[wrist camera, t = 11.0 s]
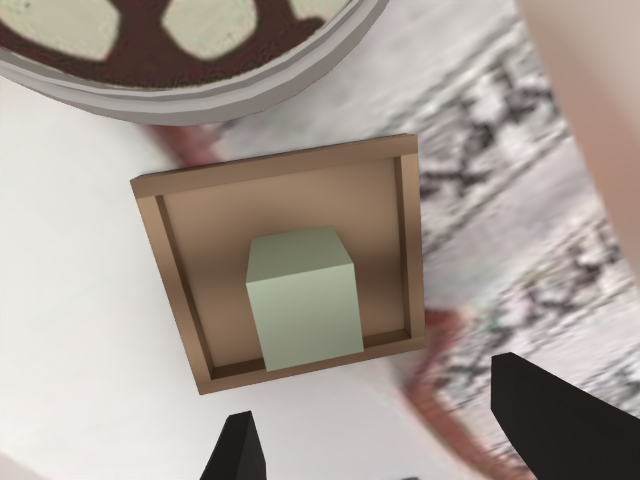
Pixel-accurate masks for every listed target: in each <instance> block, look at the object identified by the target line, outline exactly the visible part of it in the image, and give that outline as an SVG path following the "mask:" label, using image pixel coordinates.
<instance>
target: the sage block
mask: <svg viewBox="0 0 640 480" xmlns="http://www.w3.org/2000/svg"><path fill="white" fill-rule="evenodd" d="M246 286H247V291H248V295H249V299H250V303H251V307H252V311H253V316H254V320H255V324H256V328H257V332H258V337H259V341H260V345H261V349H262V353H263V357H264V362H265V366H266V370H267V372H268V371H273V370H278V369H283V368H288V367H292V366H297V365H302V364H307V363H311V362H316V361H321V360H326V359H330V358H335V357H340V356H345V355H349V354H354V353H359V352H364V348H363V340H362V332H361V323H360V315H359V306H358V298H357V289H356V281H355V272H354V264H353V262H352V260H351V258H350V256H349V255H348V253H347V251H346V249H345V248H344V246H343V244H342V243H341V241H340V239H339V237H338V236H337V234H336V232H335V231H334V229H333V227H332V225H325V226H319V227H314V228H308V229H303V230H297V231H291V232H286V233H280V234H275V235H269V236H263V237H258V238H252V240H251V247H250V255H249V263H248V270H247V278H246Z"/></svg>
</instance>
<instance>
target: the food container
mask: <svg viewBox="0 0 640 480" xmlns="http://www.w3.org/2000/svg"><path fill="white" fill-rule="evenodd" d="M388 2H389V0H0V75H1V76H3V77H5V78H7V79H9V80H11V81H13V82H16V83H18V84H20V85H22V86H25V87H27V88H29V89H31V90H33V91H36V92H38V93H40V94H42V95H44V96H47V97H49V98H52V99H54V100H57V101H60V102H63V103H65V104H68V105H71V106H74V107H76V108H79V109H82V110H84V111H87V112H90V113H93V114H96V115H101V116H106V117H110V118H115V119H120V120H124V121H129V122H134V123H138V124H153V125H169V126H189V125H199V124H209V123H219V122H225V121H228V120H232V119H236V118H239V117H243V116H247V115H250V114H254V113H258V112H261V111H263V110H265V109H267V108H269V107H271V106H274V105H276V104H278V103H280V102H282V101H284V100H287V99H289V98H291V97H293V96H295V95H297V94H298V93H300V92H301V91H302V90H304V89H305V88H307V87H308V86H310V85H311V84H313V83H314V82H316V81H317V80H318V79H320V78H321V77H323V76H324V75H326V74H327V73H328V72H329V71H330V70H332V69H333V68H334V67H335V66H336V65H337V64H338V63H339V62H340V61H341V60H342V59H343V58H344V57H345V56H346V55H347V54H348V53H349V52H350V51H351V50H352V49H353V48H354V47H355V46H356V45H357V44H358V43H359V42H360V41H361V39H362V38H363V37H364V35H365V34H366V33H367V31H368V30H369V29H370V27H371V26H372V25H373V23H374V22H375V21H376V19H377V18H378V17H379V16H380V14H381V13H382V12H383V10H384V9H385V7H386V5H387V3H388Z"/></svg>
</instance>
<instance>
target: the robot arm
mask: <svg viewBox="0 0 640 480" xmlns="http://www.w3.org/2000/svg"><path fill="white" fill-rule="evenodd" d="M491 411H492V412H493V414H494V416H495V418H496V419H497V421H498V423H499V425H500V426H501V428H502V430H503V431H504V433H505V435H506V436H507V438H508V439H509V441H510V443H511V444H512V446H513V447H514V448H515V450H516V451H517V452H518V454H519V455H520V456H521V458H522V459H523V460H524V462H525V463H526V464H527V466H528V467H529V468H530V470H531V471H532V472H533V474H534V475H535V476H536V478H537V479H538V480H640V419H639V418H637V417H634V416H632V415H630V414H628V413H626V412H624V411H622V410H620V409H618V408H616V407H614V406H612V405H610V404H608V403H606V402H604V401H602V400H600V399H598V398H596V397H594V396H592V395H590V394H588V393H586V392H585V391H583V390H581V389H579V388H577V387H575V386H573V385H571V384H570V383H568V382H566V381H564V380H562V379H560V378H558V377H557V376H555V375H553V374H551V373H549V372H547V371H546V370H544V369H542V368H540V367H538V366H537V365H535V364H533V363H531V362H529V361H527V360H525V359H524V358H522V357H520V356H518V355H516V354H514V353H512V352H509V353H504V354H500V355H495V356H492V364H491ZM200 480H267V479H266V462H265V458H264V455H263V451H262V448H261V444H260V441H259V437H258V434H257V430H256V427H255V423H254V420H253V416H252V412H251V411H247V412H242V413H238V414H233V415H229V417H228V418H227V419H226V422H225V424H224V427H223V429H222V431H221V434H220V436H219V439H218V441H217V443H216V446H215V448H214V450H213V452H212V454H211V457H210V459H209V461H208V463H207V465H206V468H205V470H204V472H203V474H202V476H201V478H200Z"/></svg>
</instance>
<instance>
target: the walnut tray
mask: <svg viewBox="0 0 640 480" xmlns="http://www.w3.org/2000/svg"><path fill="white" fill-rule="evenodd" d="M130 183H131V186H132V189H133V193H134V196H135V199H136V202H137V205H138V208H139V211H140V214H141V217H142V220H143V223H144V226H145V229H146V232H147V235H148V238H149V241H150V244H151V248H152V251H153V254H154V257H155V260H156V263H157V266H158V269H159V272H160V275H161V278H162V281H163V284H164V287H165V290H166V293H167V296H168V299H169V303H170V306H171V309H172V312H173V315H174V318H175V321H176V324H177V327H178V330H179V333H180V336H181V339H182V342H183V345H184V348H185V351H186V355H187V358H188V361H189V364H190V367H191V370H192V373H193V376H194V379H195V382H196V385H197V388H198V391H199V394H200V395H204V394H208V393H213V392H218V391H223V390H227V389H232V388H237V387H242V386H246V385H251V384H256V383H261V382H265V381H270V380H275V379H280V378H284V377H289V376H294V375H299V374H303V373H308V372H313V371H318V370H323V369H327V368H332V367H337V366H342V365H346V364H351V363H356V362H361V361H365V360H370V359H375V358H380V357H384V356H389V355H394V354H399V353H403V352H408V351H413V350H418V349H422V348H426V335H425V311H424V287H423V263H422V240H421V216H420V192H419V168H418V144H417V135H413V134H399V135H392V136H386V137H379V138H373V139H367V140H360V141H354V142H348V143H341V144H335V145H329V146H322V147H316V148H310V149H303V150H297V151H291V152H284V153H278V154H272V155H265V156H259V157H252V158H246V159H240V160H233V161H227V162H221V163H214V164H208V165H202V166H195V167H189V168H183V169H176V170H170V171H164V172H157V173H151V174H145V175H140V176H138V177H136V178H134V179H132V180H130ZM325 225H332V227H333V229H334V231H335V232H336V234H337V236H338V237H339V239H340V241H341V243H342V244H343V246H344V248H345V249H346V251H347V253H348V255H349V256H350V258H351V260H352V262H353V264H354V272H355V281H356V289H357V298H358V306H359V315H360V323H361V332H362V340H363V348H364V352H359V353H354V354H349V355H345V356H340V357H335V358H330V359H326V360H321V361H316V362H311V363H307V364H302V365H297V366H292V367H288V368H283V369H278V370H273V371H268V372H267V370H266V366H265V362H264V357H263V353H262V349H261V345H260V341H259V337H258V332H257V328H256V324H255V320H254V316H253V311H252V307H251V303H250V299H249V295H248V291H247V286H246V278H247V270H248V263H249V255H250V247H251V240H252V238H258V237H263V236H269V235H275V234H280V233H286V232H291V231H297V230H303V229H308V228H314V227H319V226H325Z"/></svg>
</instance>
